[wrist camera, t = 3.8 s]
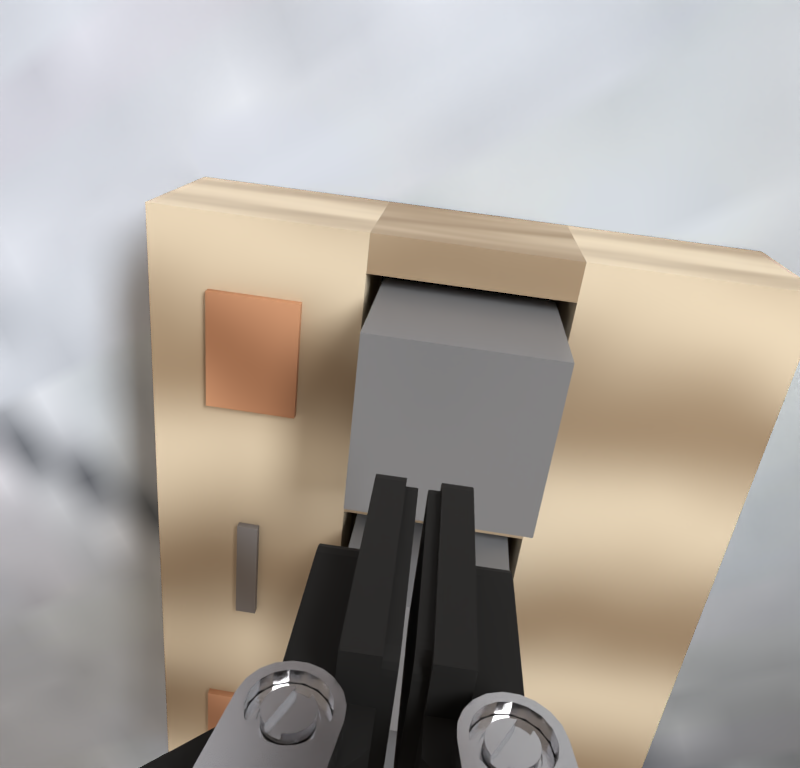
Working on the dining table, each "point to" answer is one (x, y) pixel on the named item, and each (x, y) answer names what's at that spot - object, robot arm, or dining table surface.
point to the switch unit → (332, 524)
